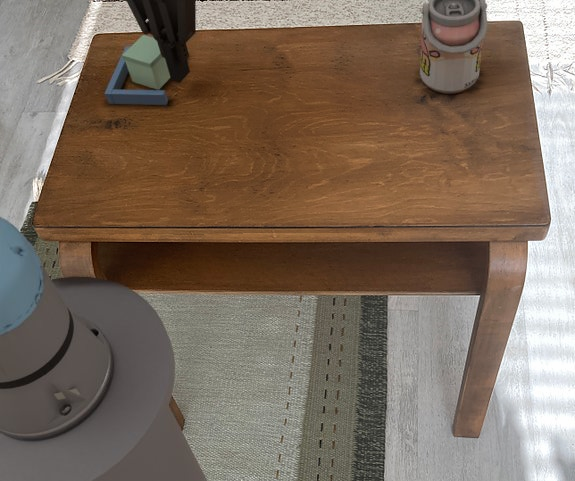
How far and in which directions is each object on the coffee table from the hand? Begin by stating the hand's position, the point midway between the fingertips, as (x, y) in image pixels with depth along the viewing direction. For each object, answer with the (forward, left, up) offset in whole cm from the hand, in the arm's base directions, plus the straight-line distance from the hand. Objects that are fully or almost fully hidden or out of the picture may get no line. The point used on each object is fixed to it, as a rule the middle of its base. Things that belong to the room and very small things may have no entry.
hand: (180, 75), depth 108 cm
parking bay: (-6, +2, -3) cm, 7 cm away
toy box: (-5, +3, -3) cm, 7 cm away
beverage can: (+38, +3, -3) cm, 38 cm away
